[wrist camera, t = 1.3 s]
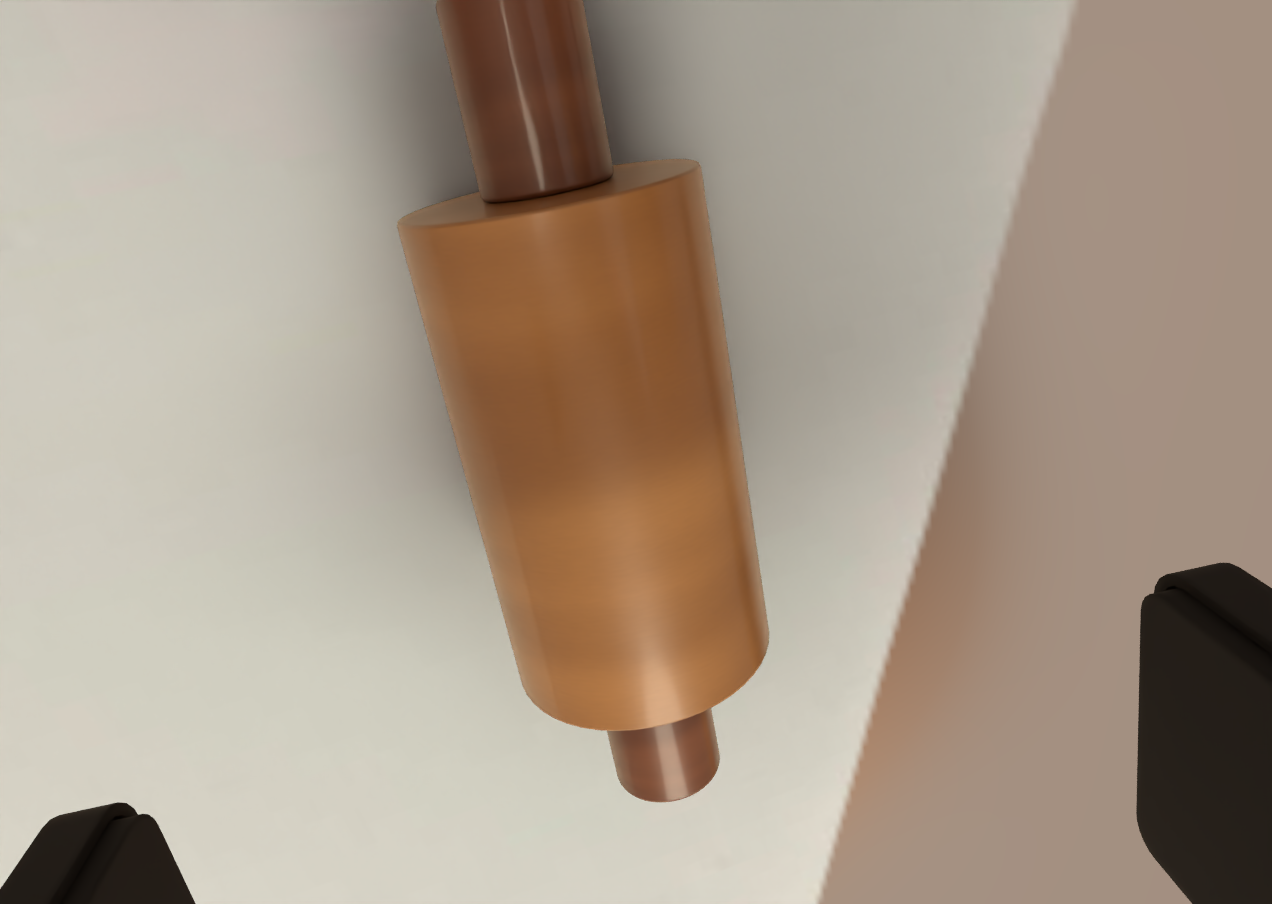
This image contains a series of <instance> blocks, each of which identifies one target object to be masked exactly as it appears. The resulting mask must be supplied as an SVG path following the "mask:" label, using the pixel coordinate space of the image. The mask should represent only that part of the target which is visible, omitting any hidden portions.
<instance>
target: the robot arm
mask: <svg viewBox="0 0 1272 904" xmlns="http://www.w3.org/2000/svg"><path fill="white" fill-rule="evenodd" d="M1137 822H1138V826H1139V829H1140V833H1141V835H1142V838H1143V840H1144V842H1145V844H1146V846H1147V848H1148V849H1149V851H1150V853H1151V854H1152V855H1153V857H1154V858H1155V859H1156V861H1157V862H1158V863H1159V864H1160V865H1161V867H1162V868H1163V869H1164V870H1165V871H1166V873H1167V874H1168V875H1169V876H1170V877H1171V878H1172V880H1173V881H1174V882H1175V883H1176V885H1177V886H1178V887H1179V888H1180V889H1181V891H1182V892H1183V893H1184V894H1185V895H1186V896H1187V898H1188V899H1189V900H1190V901H1191V902H1192V904H1272V588H1270V587H1269V586H1267V585H1266V584H1264V583H1263V582H1261V581H1260V580H1258V579H1257V578H1255V577H1253V576H1251V575H1250V574H1249V573H1247V572H1246V571H1244V570H1242V569H1241V568H1239V567H1237V566H1235V565H1233V564H1230V563H1217V564H1212V565H1208V566H1203V567H1199V568H1194V569H1190V570H1185V571H1180V572H1176V573H1171V574H1167V575H1165V576H1163V577H1161V578H1160V579H1159V580H1158V582H1157V584H1156V586H1155V590H1154V594H1150V595H1148V596H1146V597H1145V598H1144V600H1143V602H1142V607H1141V626H1140V674H1139V721H1138V767H1137ZM0 904H195V902H194V900H193V898H192V895H191V893H190V891H189V889H188V887H187V885H186V883H185V881H184V879H183V876H182V874H181V872H180V870H179V868H178V866H177V864H176V862H175V860H174V857H173V855H172V853H171V851H170V849H169V847H168V845H167V843H166V841H165V838H164V836H163V834H162V832H161V830H160V828H159V826H158V824H157V823H156V821H155V819H154V818H152V817H151V816H150V815H148V814H140V815H138V814H137V813H136V811H135V809H134V808H132V807H131V806H130V805H128V804H127V803H114V804H109V805H104V806H100V807H95V808H91V809H86V810H81V811H77V812H72V813H68V814H63V815H59V816H57V817H55V818H53V819H50V820H49V821H48V823H47V824H46V825H45V826H44V827H43V828H42V829H41V831H40V832H39V834H38V835H37V836H36V838H35V839H34V841H33V842H32V844H31V845H30V847H29V848H28V850H27V851H26V853H25V854H24V855H23V857H22V858H21V860H20V861H19V863H18V864H17V866H16V867H15V869H14V870H13V871H12V873H11V874H10V876H9V877H8V879H7V880H6V882H5V883H4V885H3V886H2V887H1V889H0Z"/></svg>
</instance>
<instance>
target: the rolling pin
mask: <svg viewBox="0 0 1272 904" xmlns="http://www.w3.org/2000/svg"><path fill="white" fill-rule="evenodd" d="M436 10H437V14H438V19H439V23H440V27H441V31H442V36H443V40H444V44H445V48H446V52H447V57H448V61H449V65H450V69H451V74H452V78H453V82H454V86H455V91H456V95H457V99H458V103H459V107H460V112H461V116H462V120H463V124H464V129H465V133H466V137H467V141H468V145H469V150H470V154H471V158H472V162H473V167H474V171H475V175H476V179H477V184H478V188H479V192H476V193H472V194H469V195H465V196H461V197H457V198H454V199H450V200H447V201H443V202H440V203H437V204H434V205H431V206H428V207H425V208H422V209H419V210H417V211H414V212H412V213H410V214H408V215H406V216H404V217H402V218H401V219H400V220H399V221H398V224H397V228H398V232H399V235H400V239H401V243H402V246H403V250H404V254H405V257H406V261H407V264H408V268H409V272H410V275H411V279H412V283H413V286H414V290H415V294H416V297H417V301H418V305H419V308H420V312H421V316H422V319H423V323H424V327H425V330H426V334H427V338H428V341H429V345H430V349H431V352H432V356H433V360H434V363H435V367H436V371H437V374H438V378H439V382H440V385H441V389H442V393H443V396H444V400H445V404H446V407H447V411H448V414H449V418H450V422H451V425H452V429H453V433H454V436H455V440H456V444H457V447H458V451H459V455H460V458H461V462H462V466H463V469H464V473H465V477H466V480H467V484H468V488H469V491H470V495H471V499H472V502H473V506H474V510H475V513H476V517H477V521H478V524H479V528H480V532H481V535H482V539H483V543H484V546H485V550H486V554H487V557H488V561H489V564H490V568H491V572H492V575H493V579H494V583H495V586H496V590H497V594H498V597H499V601H500V605H501V608H502V612H503V616H504V619H505V623H506V627H507V630H508V634H509V638H510V641H511V645H512V649H513V652H514V656H515V660H516V663H517V667H518V671H519V674H520V678H521V682H522V685H523V687H524V690H525V692H526V694H527V695H528V697H529V698H530V699H531V700H532V702H533V703H534V704H535V705H536V706H537V707H539V708H540V709H541V710H542V711H543V712H545V713H546V714H548V715H550V716H551V717H553V718H555V719H557V720H560V721H562V722H565V723H567V724H571V725H574V726H578V727H582V728H588V729H595V730H607V733H608V737H609V742H610V746H611V750H612V754H613V759H614V763H615V767H616V771H617V776H618V779H619V781H620V783H621V785H622V786H623V787H624V788H625V789H626V790H627V791H628V792H629V793H630V794H632V795H633V796H635V797H637V798H639V799H642V800H645V801H651V802H670V801H676V800H680V799H683V798H686V797H688V796H691V795H693V794H695V793H696V792H698V791H700V790H701V789H702V788H704V787H705V786H706V785H707V784H708V783H709V782H710V781H711V780H712V778H713V777H714V775H715V774H716V771H717V769H718V766H719V760H720V756H719V749H718V744H717V738H716V733H715V727H714V722H713V716H712V711H711V707H713V706H715V705H717V704H719V703H720V702H722V701H723V700H725V699H726V698H728V697H730V696H731V695H732V694H734V693H735V692H736V691H737V690H739V689H740V688H741V687H742V686H743V685H744V684H745V683H746V682H747V681H748V680H749V679H750V678H751V677H752V676H753V675H754V673H755V672H756V671H757V669H758V668H759V666H760V665H761V663H762V661H763V659H764V656H765V654H766V651H767V647H768V643H769V628H768V621H767V615H766V608H765V601H764V594H763V587H762V580H761V573H760V567H759V560H758V553H757V546H756V539H755V532H754V526H753V519H752V512H751V505H750V498H749V491H748V485H747V478H746V471H745V464H744V457H743V450H742V443H741V437H740V430H739V423H738V416H737V409H736V402H735V396H734V389H733V382H732V375H731V368H730V361H729V355H728V348H727V341H726V334H725V327H724V320H723V314H722V307H721V300H720V293H719V286H718V279H717V272H716V266H715V259H714V252H713V245H712V238H711V231H710V225H709V218H708V211H707V204H706V197H705V190H704V184H703V177H702V170H701V165H700V164H699V162H697V161H694V160H688V159H666V160H653V161H643V162H634V163H627V164H619V165H613V164H612V158H611V153H610V147H609V142H608V136H607V131H606V125H605V120H604V114H603V109H602V103H601V98H600V92H599V87H598V81H597V76H596V70H595V64H594V59H593V53H592V48H591V42H590V37H589V31H588V26H587V20H586V15H585V9H584V4H583V0H437V3H436Z"/></svg>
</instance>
